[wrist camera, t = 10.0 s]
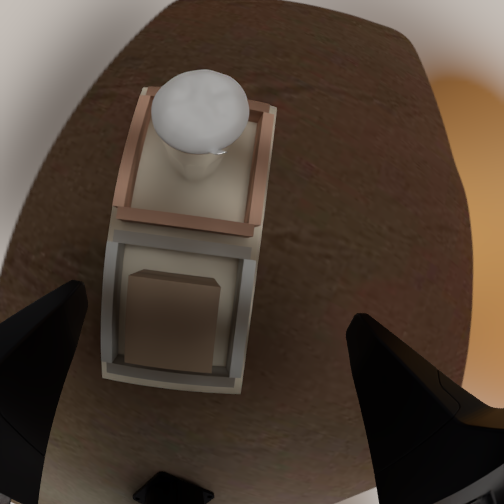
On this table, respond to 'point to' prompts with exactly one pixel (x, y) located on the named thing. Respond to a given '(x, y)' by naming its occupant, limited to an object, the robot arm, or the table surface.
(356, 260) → the table surface
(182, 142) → the milkshake
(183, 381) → the grey-brown divided tray
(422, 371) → the robot arm
